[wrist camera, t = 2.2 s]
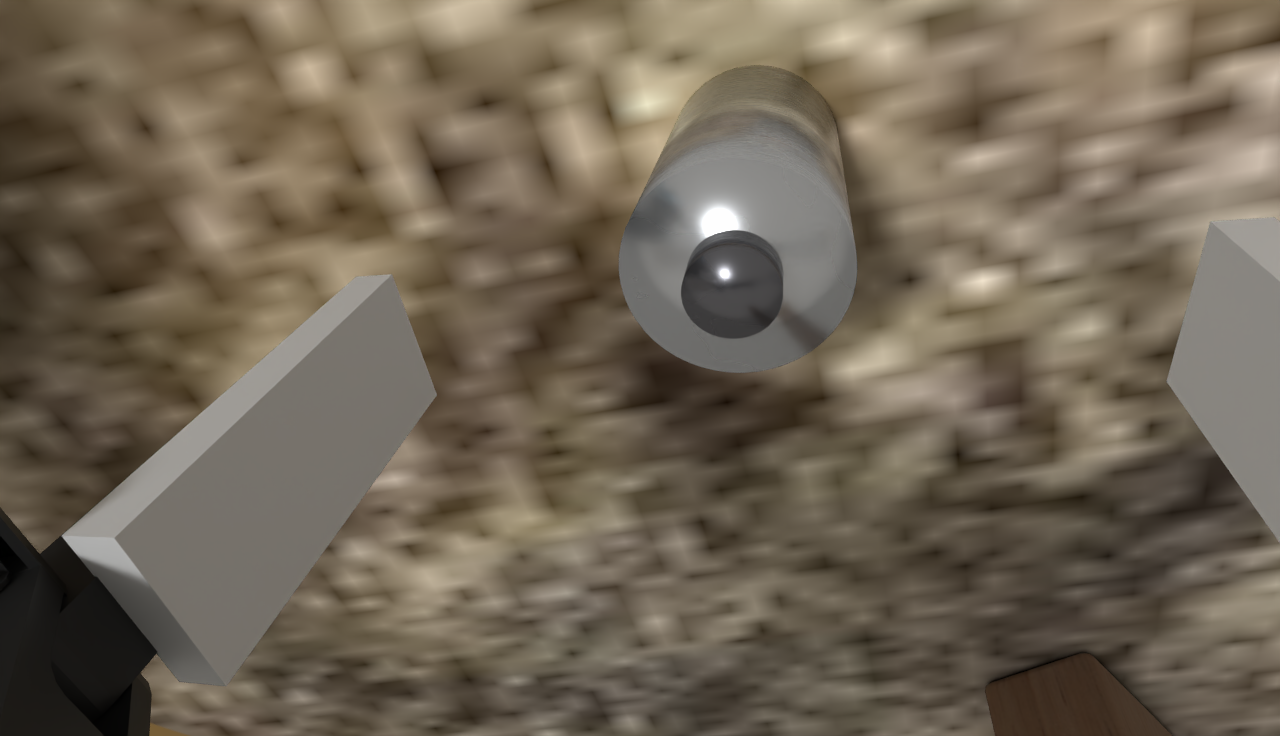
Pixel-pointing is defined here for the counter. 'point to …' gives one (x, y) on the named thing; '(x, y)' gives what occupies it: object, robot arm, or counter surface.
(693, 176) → the cell
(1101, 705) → the wooden block
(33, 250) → the counter surface
